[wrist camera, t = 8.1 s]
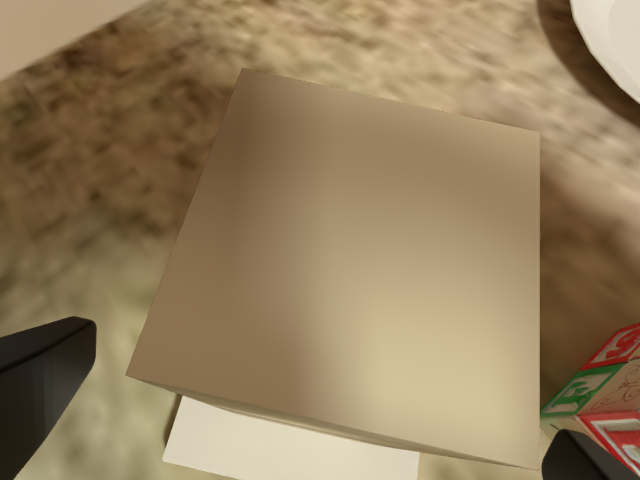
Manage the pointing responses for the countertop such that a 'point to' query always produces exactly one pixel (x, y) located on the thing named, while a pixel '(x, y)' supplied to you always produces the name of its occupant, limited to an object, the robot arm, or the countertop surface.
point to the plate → (612, 38)
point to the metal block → (359, 275)
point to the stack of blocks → (604, 399)
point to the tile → (276, 449)
